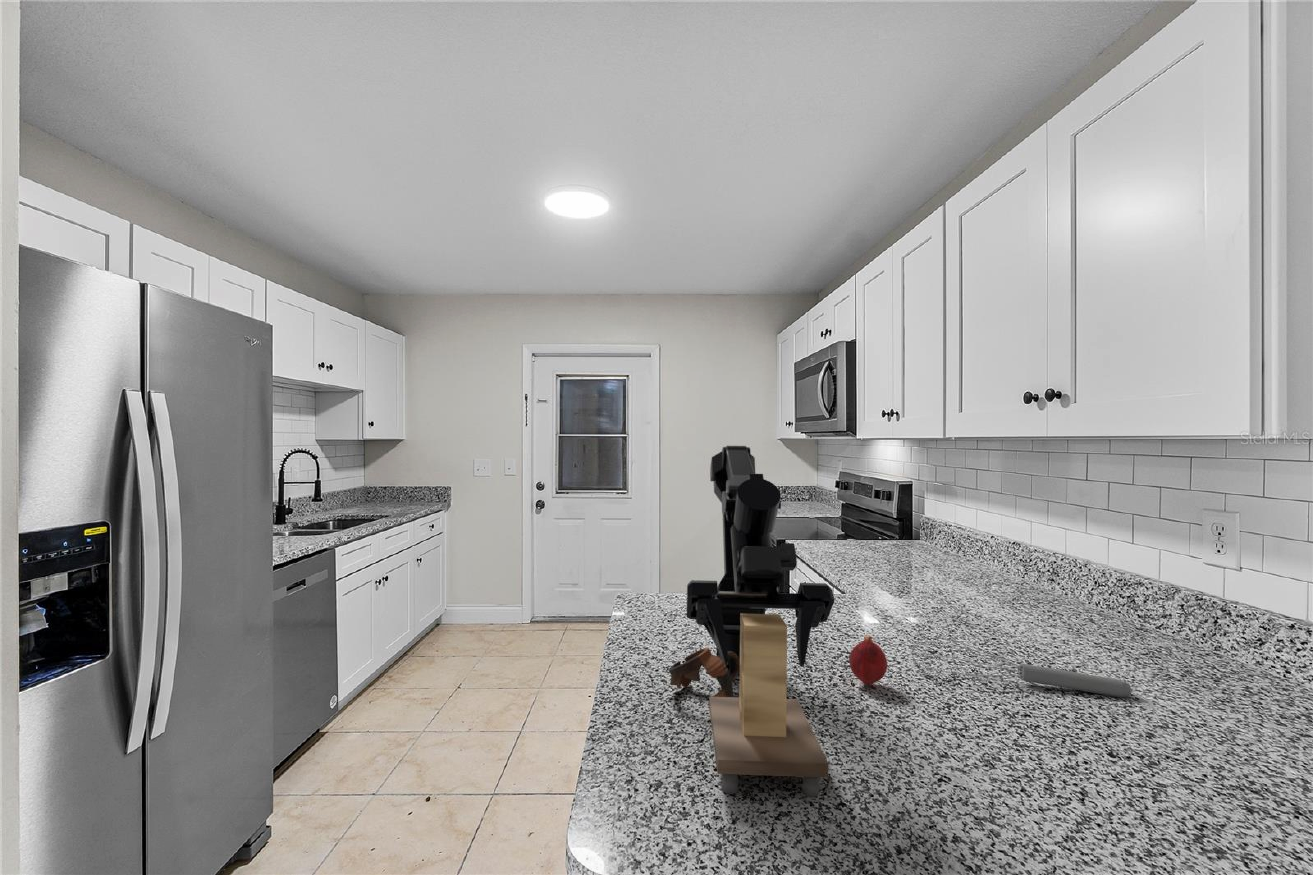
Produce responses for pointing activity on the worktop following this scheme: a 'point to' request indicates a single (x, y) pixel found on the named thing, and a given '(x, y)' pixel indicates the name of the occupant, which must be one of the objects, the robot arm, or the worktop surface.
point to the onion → (868, 661)
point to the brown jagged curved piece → (713, 667)
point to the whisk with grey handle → (1048, 676)
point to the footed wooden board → (765, 748)
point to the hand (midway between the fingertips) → (764, 664)
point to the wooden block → (763, 675)
